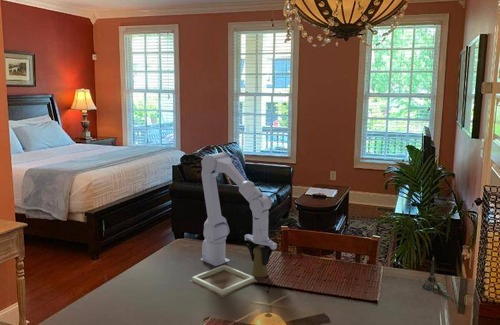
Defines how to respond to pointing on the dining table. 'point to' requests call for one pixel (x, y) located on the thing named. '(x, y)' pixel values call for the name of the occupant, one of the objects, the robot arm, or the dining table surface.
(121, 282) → the dining table surface
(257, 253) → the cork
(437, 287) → the eiffel tower figurine
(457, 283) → the dining table surface
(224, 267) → the walled square frame
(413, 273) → the dining table surface
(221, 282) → the board
